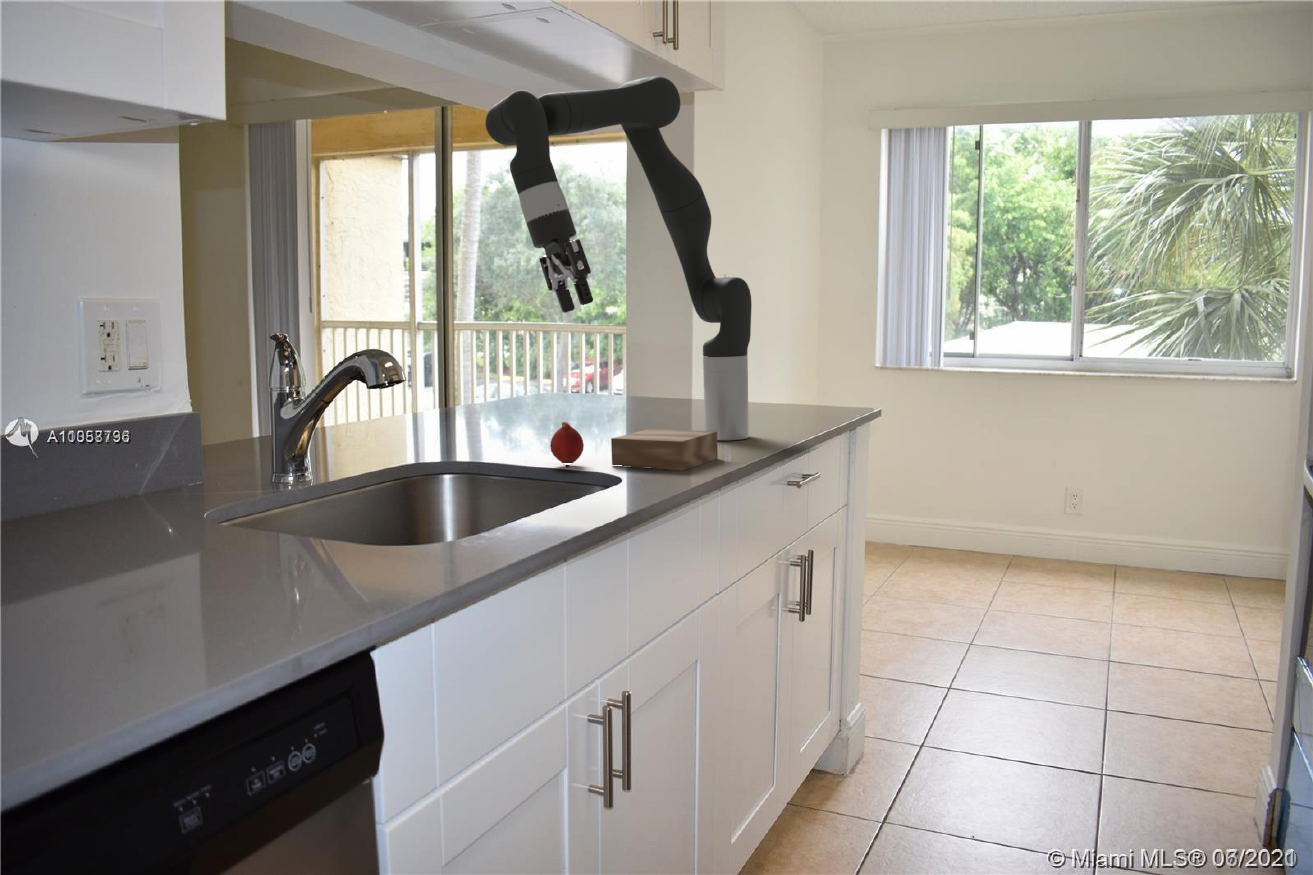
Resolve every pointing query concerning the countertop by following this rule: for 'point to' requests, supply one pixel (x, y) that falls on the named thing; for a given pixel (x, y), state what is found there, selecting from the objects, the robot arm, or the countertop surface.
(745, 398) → the robot arm
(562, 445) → the onion
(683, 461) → the walnut base
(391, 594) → the countertop surface
